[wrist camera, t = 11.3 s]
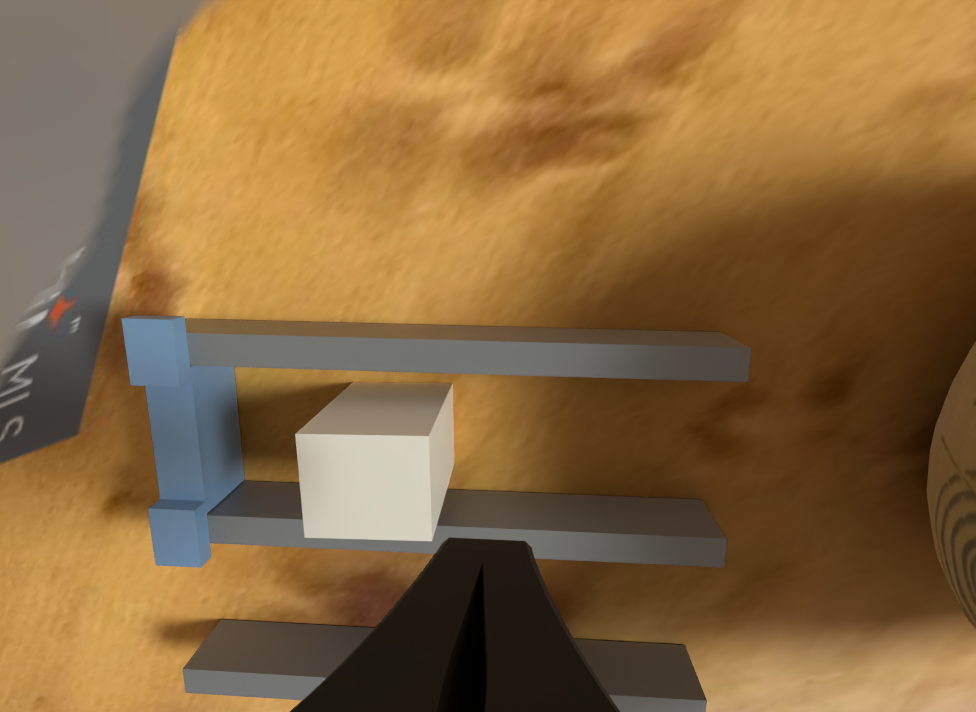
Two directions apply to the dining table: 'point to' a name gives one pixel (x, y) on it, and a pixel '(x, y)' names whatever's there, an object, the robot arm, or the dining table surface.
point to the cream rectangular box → (377, 462)
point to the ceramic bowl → (956, 486)
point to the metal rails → (465, 513)
